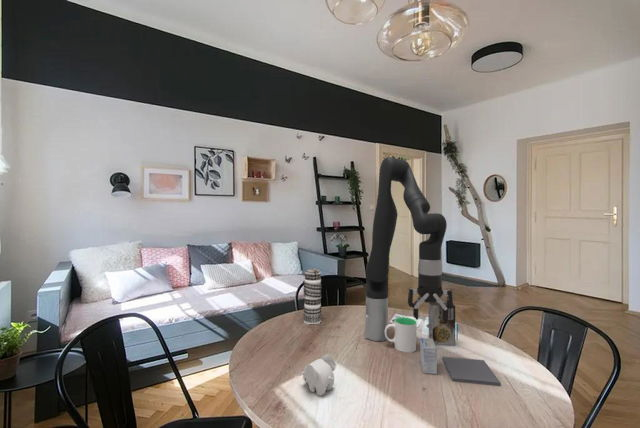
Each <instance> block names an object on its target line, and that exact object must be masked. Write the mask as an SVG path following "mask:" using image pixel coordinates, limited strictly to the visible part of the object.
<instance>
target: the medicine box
mask: <svg viewBox="0 0 640 428" xmlns="http://www.w3.org/2000/svg"><path fill="white" fill-rule="evenodd" d="M419 341H420V344H419V345H420V346H419V347H420V350H419V351H420V352H419V355H420V356H419V359H420V360H419V361H420V365H421V368H422V371H423V372H422V373H423V374H428V375H429V374H431V375H437V374H438V348H437V345H435V343H434V340H433V339H430V338H428V337H427V338H426V337H420V340H419Z"/></svg>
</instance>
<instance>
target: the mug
mask: <svg viewBox="0 0 640 428" xmlns="http://www.w3.org/2000/svg"><path fill="white" fill-rule="evenodd" d="M390 327H392V328H393V329H394V336H393V338H389V336H388V337H387V334H386V331H387V329H388V330H389V328H390ZM385 337H386V338H387V339H386V340H387V341H388V342H391V343H394V348H395V349H396V350H397V351H398V352H399V351H400V352H403V353H413V352H415V351H417V320H416V319H413V318H410V317H405V316H403V317H396V318H395V319H394V323H388V325H387V326H386V328H385Z"/></svg>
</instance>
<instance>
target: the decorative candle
mask: <svg viewBox="0 0 640 428" xmlns="http://www.w3.org/2000/svg"><path fill="white" fill-rule="evenodd" d="M321 274H322V271H320V269H318V268H314V267H312V268H308V269H306V271H304V280H303V281H302V282H303V284H302V286H303V299H304V302H303V303H304V306H303V309H304V310H303V312H304V313H303V323H304V324H306V325H309V324H316V325H319V324H321V323H322V308H323V307H322V303H321V298H322V297H323V296H322V293H323V291H322V290H323V283H321V282H322V278H321V276H322V275H321ZM320 322H321V323H320Z"/></svg>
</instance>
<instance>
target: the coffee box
mask: <svg viewBox="0 0 640 428" xmlns="http://www.w3.org/2000/svg"><path fill="white" fill-rule="evenodd" d="M441 301H442V302H443V303H444V304H447V300H441ZM441 308H442V306H441V305H440V304H439V303H438V301H437V302H435V303H432V302H428V335H427V336H428V337H427V338H430V339H433V340H434V343H435V345H436V346H456V305H455V304H454V303H453V308H452V309H447V318H446V319H445V321H442V320H441Z"/></svg>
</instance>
